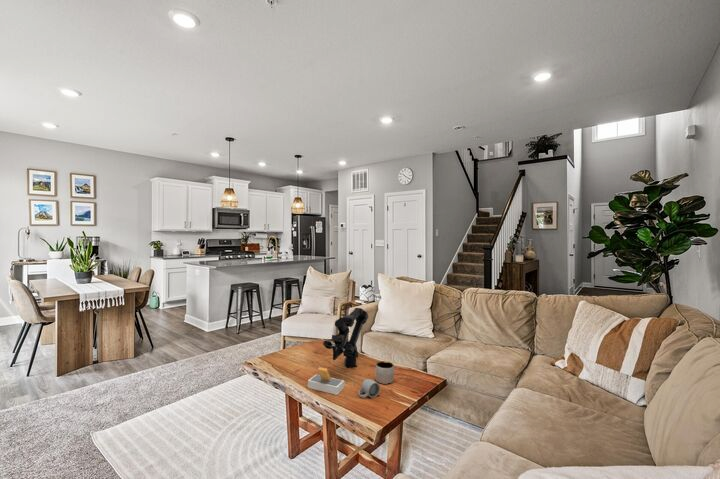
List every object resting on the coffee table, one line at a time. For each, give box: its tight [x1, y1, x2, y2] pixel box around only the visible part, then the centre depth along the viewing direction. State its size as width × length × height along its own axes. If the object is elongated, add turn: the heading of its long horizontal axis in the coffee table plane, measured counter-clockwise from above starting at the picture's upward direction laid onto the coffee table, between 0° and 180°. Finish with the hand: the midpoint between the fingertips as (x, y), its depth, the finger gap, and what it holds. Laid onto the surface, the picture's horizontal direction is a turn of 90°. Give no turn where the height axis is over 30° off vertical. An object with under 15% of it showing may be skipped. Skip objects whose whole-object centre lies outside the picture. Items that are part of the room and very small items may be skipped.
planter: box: [374, 360, 395, 385], centre depth 195 cm, size 11×11×10 cm
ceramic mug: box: [357, 378, 381, 399], centre depth 177 cm, size 11×8×8 cm
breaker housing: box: [307, 374, 345, 396], centre depth 183 cm, size 9×18×4 cm, turn 68°
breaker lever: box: [317, 366, 332, 381], centre depth 181 cm, size 2×5×8 cm
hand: (333, 360), depth 191 cm, fingers closed
